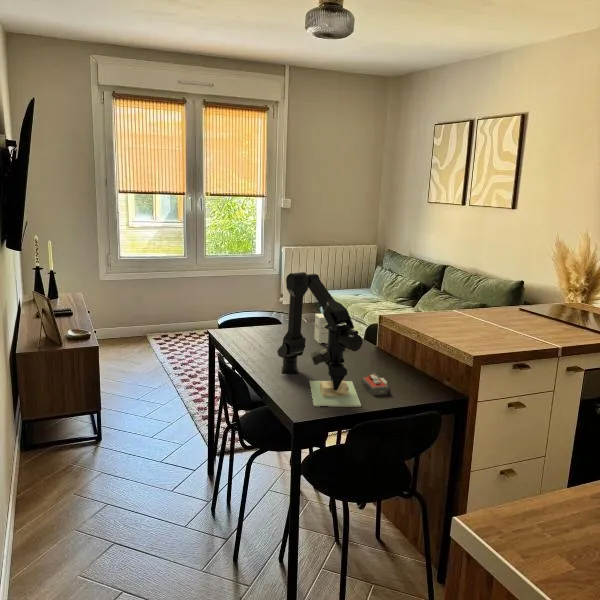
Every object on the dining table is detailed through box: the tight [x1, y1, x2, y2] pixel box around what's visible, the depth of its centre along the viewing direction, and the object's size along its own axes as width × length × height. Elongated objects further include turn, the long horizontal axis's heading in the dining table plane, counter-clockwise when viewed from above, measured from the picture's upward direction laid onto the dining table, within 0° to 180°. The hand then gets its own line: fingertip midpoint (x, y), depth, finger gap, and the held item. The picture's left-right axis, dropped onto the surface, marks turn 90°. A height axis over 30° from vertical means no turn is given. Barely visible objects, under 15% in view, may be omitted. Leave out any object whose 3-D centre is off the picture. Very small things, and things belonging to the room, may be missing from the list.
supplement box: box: [313, 313, 328, 345], centre depth 250 cm, size 7×7×13 cm
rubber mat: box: [308, 380, 362, 408], centre depth 190 cm, size 22×16×1 cm
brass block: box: [320, 380, 349, 396], centre depth 189 cm, size 9×6×3 cm, turn 99°
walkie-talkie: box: [361, 371, 392, 396], centre depth 198 cm, size 9×4×20 cm
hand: (334, 385), depth 189 cm, fingers open, 8 cm apart
